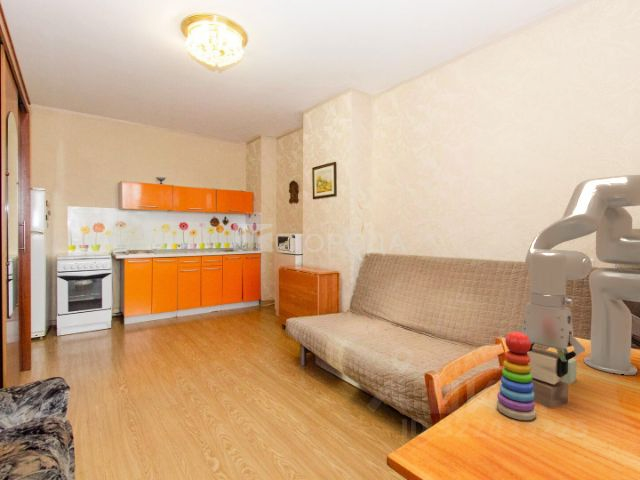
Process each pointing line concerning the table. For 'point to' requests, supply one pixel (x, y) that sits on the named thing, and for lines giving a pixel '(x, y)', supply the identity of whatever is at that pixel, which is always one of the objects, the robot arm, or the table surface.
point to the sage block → (571, 371)
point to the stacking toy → (517, 380)
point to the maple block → (544, 365)
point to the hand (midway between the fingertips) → (545, 370)
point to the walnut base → (550, 393)
